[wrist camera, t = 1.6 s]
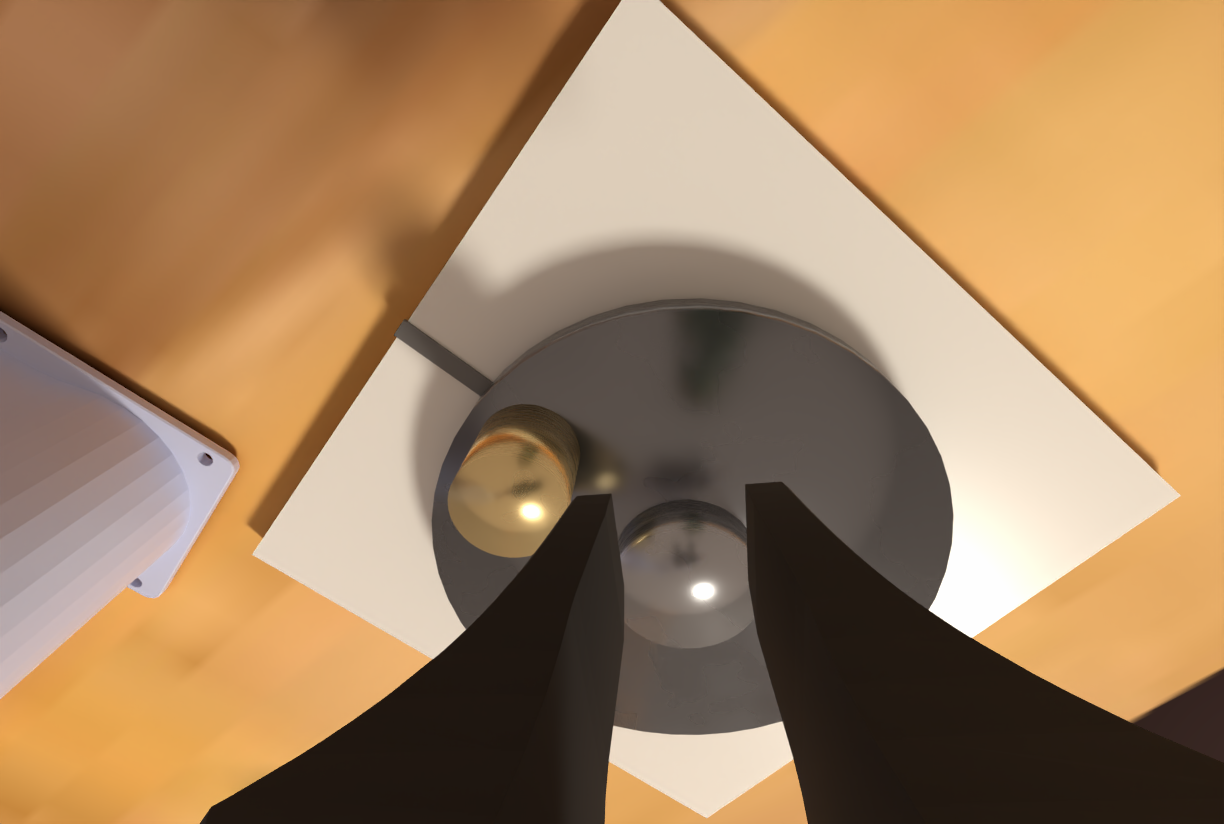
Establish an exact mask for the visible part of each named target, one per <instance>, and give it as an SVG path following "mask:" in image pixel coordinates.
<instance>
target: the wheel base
mask: <svg viewBox="0 0 1224 824" xmlns="http://www.w3.org/2000/svg"><path fill="white" fill-rule="evenodd" d="M695 298H704V299H714V300H725V301H736V302H742V303H747V304H751V305H755V306H760V307H764V308H769V309H773V310H777V311H779V312H782V313H785V314H787V315H790V316H793V317H796V318H798V319H801V320H804V321H806V322H809V323H811V324H813V325H815V326H817V327H819V328H820V329H822V330H824V331H826V332H828V333H830V334H832V335H833V336H835V337H837V338H839V339H841V340H842V341H844V342H845V343H846V344H848V345H849V346H850V347H852V348H853V349H855V350H856V351H857V352H859V353H860V354H861V355H863V356H864V357H865V358H867V359H868V360H869V361H870V362H871V363H872V364H873V365H874V366H875V367H876V368H877V369H878V370H879V371H880V372H881V373H882V374H883V375H884V376H885V377H886V378H887V379H888V380H889V381H890V382H891V383H892V384H893V385H894V386H895V387H896V388H897V389H898V390H899V391H900V393H901V394H902V395H903V396H904V397H905V398H906V399H907V400H908V401H909V403H910V404H911V406H912V407H913V408H914V410H915V411H916V413H917V414H918V415H919V417H920V418H921V419H922V421H923V422H924V424H925V425H926V426H927V428H928V430H929V432H930V434H931V436H932V438H933V440H934V442H935V444H936V446H937V448H938V450H939V452H940V454H941V456H942V460H943V463H944V466H945V470H946V473H947V477H948V480H949V483H950V488H951V497H952V506H953V514H954V517H953V536H952V547H951V551H950V556H949V560H948V565H947V569H946V573H945V575H944V578H943V581H942V583H941V586H940V588H939V591H938V593H937V596H936V598H935V600H934V602H933V604H932V605H931V607H930V609H929V610H930V611H931V612H933V613H934V614H936V615H937V616H938V617H940V618H941V619H943V620H944V621H946V622H947V623H949V624H950V625H952V626H953V627H955V628H956V629H958V630H959V631H961V632H963V633H964V634H966V635H968V636H969V637H971V638H972V637H974V636H975V635H977V634H978V633H980V632H981V631H983V630H984V629H986V628H987V627H988V626H990V625H991V624H993V623H994V622H996V621H997V620H999V619H1000V618H1002V617H1003V616H1005V615H1006V614H1008V613H1009V612H1011V611H1012V610H1013V609H1015V608H1016V607H1018V606H1019V605H1021V604H1022V603H1024V602H1025V601H1027V600H1028V599H1030V598H1031V597H1033V596H1034V595H1036V594H1037V593H1038V592H1040V591H1041V590H1043V589H1044V588H1046V587H1047V586H1049V585H1050V584H1052V583H1053V582H1055V581H1056V580H1058V579H1059V578H1060V577H1062V576H1063V575H1065V574H1066V573H1068V572H1069V571H1071V570H1072V569H1074V568H1075V567H1077V566H1078V565H1080V564H1081V563H1083V562H1084V561H1085V560H1087V559H1088V558H1090V557H1091V556H1093V555H1094V554H1096V553H1097V552H1099V551H1100V550H1102V549H1103V548H1105V547H1106V546H1108V545H1109V544H1110V543H1112V542H1113V541H1115V540H1116V539H1118V538H1119V537H1121V536H1122V535H1124V534H1125V533H1127V532H1128V531H1130V530H1131V529H1133V528H1134V527H1135V526H1137V525H1138V524H1140V523H1141V522H1143V521H1144V520H1146V519H1147V518H1149V517H1150V516H1152V515H1153V514H1155V513H1156V512H1157V511H1159V510H1160V509H1162V508H1163V507H1165V506H1166V505H1168V504H1169V503H1171V502H1172V501H1174V500H1175V499H1177V498H1178V497H1180V496H1181V495H1180V494H1179V493H1177V492H1176V491H1175V490H1174V489H1173V488H1172V487H1171V486H1170V485H1169V484H1168V483H1167V482H1166V481H1165V480H1164V479H1163V478H1162V477H1161V476H1160V475H1159V474H1157V473H1156V472H1155V471H1154V470H1153V469H1152V468H1151V467H1150V466H1149V465H1148V464H1147V463H1146V462H1145V461H1144V460H1143V459H1142V458H1141V457H1140V456H1139V455H1137V454H1136V453H1135V452H1134V451H1133V450H1132V449H1131V448H1130V447H1129V446H1128V445H1127V444H1126V443H1125V442H1124V441H1123V440H1122V439H1121V438H1120V437H1118V436H1117V435H1116V434H1115V433H1114V432H1113V431H1112V430H1111V429H1110V428H1109V427H1108V426H1107V425H1106V424H1105V423H1104V422H1103V421H1102V420H1101V419H1100V418H1098V417H1097V416H1096V415H1095V414H1094V413H1093V412H1092V411H1091V410H1090V409H1089V408H1088V407H1087V406H1086V405H1085V404H1084V403H1083V402H1082V401H1081V400H1080V399H1078V398H1077V397H1076V396H1075V395H1074V394H1073V393H1072V392H1071V391H1070V390H1069V389H1068V388H1067V387H1066V386H1065V385H1064V384H1063V383H1062V382H1061V381H1060V380H1058V379H1057V378H1056V377H1055V376H1054V375H1053V374H1052V373H1051V372H1050V371H1049V370H1048V369H1047V368H1046V367H1045V366H1044V365H1043V364H1042V363H1041V362H1040V361H1038V360H1037V359H1036V358H1035V357H1034V356H1033V355H1032V354H1031V353H1030V352H1029V351H1028V350H1027V349H1026V348H1025V347H1024V346H1023V345H1022V344H1021V343H1020V342H1018V341H1017V340H1016V339H1015V338H1014V337H1013V336H1012V335H1011V334H1010V333H1009V332H1008V331H1007V330H1006V329H1005V328H1004V327H1003V326H1002V325H1001V324H999V323H998V322H997V321H996V320H995V319H994V318H993V317H992V316H991V315H990V314H989V313H988V312H987V311H986V310H985V309H984V308H983V307H982V306H981V305H979V304H978V303H977V302H976V301H975V300H974V299H973V298H972V297H971V296H970V295H969V294H968V293H967V292H966V291H965V290H964V289H963V288H962V287H961V286H959V285H958V284H957V283H956V282H955V281H954V280H953V279H952V278H951V277H950V276H949V275H948V274H947V273H946V272H945V271H944V270H943V269H942V268H941V267H939V266H938V265H937V264H936V263H935V262H934V261H933V260H932V259H931V258H930V257H929V256H928V255H927V254H926V253H925V252H924V251H923V250H922V249H921V248H919V247H918V246H917V245H916V244H915V243H914V242H913V241H912V240H911V239H910V238H909V237H908V236H907V235H906V234H905V233H904V232H903V231H902V230H900V229H899V228H898V227H897V226H896V225H895V224H894V223H893V222H892V221H891V220H890V219H889V218H888V217H887V216H886V215H885V214H884V213H883V212H882V211H880V210H879V209H878V208H877V207H876V206H875V205H874V204H873V203H872V202H871V201H870V200H869V199H868V198H867V197H866V196H865V195H864V194H863V193H862V192H860V191H859V190H858V189H857V188H856V187H855V186H854V185H853V184H852V183H851V182H850V181H849V180H848V179H847V178H846V177H845V176H844V175H843V174H842V173H840V172H839V171H838V170H837V169H836V168H835V167H834V166H833V165H832V164H831V163H830V162H829V161H828V160H827V159H826V158H825V157H824V156H823V155H822V154H820V153H819V152H818V151H817V150H816V149H815V148H814V147H813V146H812V145H811V144H810V143H809V142H808V141H807V140H806V139H805V138H804V137H803V136H802V135H800V134H799V133H798V132H797V131H796V130H795V129H794V128H793V127H792V126H791V125H790V124H789V123H788V122H787V121H786V120H785V119H784V118H783V117H781V116H780V115H779V114H778V113H777V112H776V111H775V110H774V109H773V108H772V107H771V106H770V105H769V104H768V103H767V102H766V101H765V100H764V99H763V98H761V97H760V96H759V95H758V94H757V93H756V92H755V91H754V90H753V89H752V88H751V87H750V86H749V85H748V84H747V83H746V82H745V81H744V80H743V79H741V78H740V77H739V76H738V75H737V74H736V73H735V72H734V71H733V70H732V69H731V68H730V67H729V66H728V65H727V64H726V63H725V62H724V61H723V60H721V59H720V58H719V57H718V56H717V55H716V54H715V53H714V52H713V51H712V50H711V49H710V48H709V47H708V46H707V45H706V44H705V43H704V42H703V41H701V40H700V39H699V38H698V37H697V36H696V35H695V34H694V33H693V32H692V31H691V30H690V29H689V28H688V27H687V26H686V25H685V24H684V23H682V22H681V21H680V20H679V19H678V18H677V17H676V16H675V15H674V14H673V13H672V12H671V11H670V10H669V9H668V8H667V7H666V6H665V5H664V4H662V3H661V2H660V1H659V0H621V2H620V3H619V5H618V6H617V8H616V9H615V11H614V12H613V14H612V15H611V17H610V18H609V20H608V21H607V23H606V24H605V26H604V27H603V29H602V30H601V32H600V33H599V35H598V36H597V38H596V39H595V41H594V42H593V44H592V45H591V47H590V48H589V50H588V51H587V53H586V54H585V56H584V57H583V59H582V60H581V62H580V63H579V65H578V66H577V68H576V69H575V71H574V72H573V74H572V75H571V77H570V78H569V80H568V81H567V83H566V84H565V86H564V87H563V89H562V90H561V92H560V93H559V95H558V96H557V98H556V99H555V101H554V102H553V104H552V105H551V107H550V108H549V110H548V111H547V113H546V114H545V116H544V117H543V119H542V120H541V122H540V123H539V125H538V126H537V128H536V129H535V131H534V133H533V134H532V136H531V137H530V139H529V140H528V142H527V143H526V145H525V146H524V148H523V149H522V151H521V152H520V154H519V155H518V157H517V158H516V160H515V161H514V163H513V164H512V166H511V167H510V169H509V170H508V172H507V173H506V175H505V176H504V178H503V179H502V181H501V182H500V184H499V185H498V187H497V188H496V190H495V191H494V193H493V194H492V196H491V197H490V199H489V200H488V202H487V203H486V205H485V206H484V208H483V209H482V211H481V212H480V214H479V215H478V217H477V218H476V220H475V221H474V223H473V224H472V226H471V227H470V229H469V230H468V232H467V233H466V235H465V236H464V238H463V239H462V241H461V242H460V244H459V245H458V247H457V248H456V250H455V251H454V253H453V254H452V256H451V257H450V259H449V260H448V262H447V263H446V265H445V266H444V268H443V269H442V271H441V272H440V274H439V275H438V277H437V278H436V280H435V281H434V283H433V284H432V286H431V287H430V289H429V290H428V292H427V293H426V295H425V296H424V298H423V299H422V301H421V302H420V304H419V305H418V307H417V308H416V310H415V311H414V313H413V314H412V316H411V317H410V319H409V320H408V321H407V320H405V319H404V320H403V322H402V323H401V325H400V326H399V328H398V329H397V331H396V332H395V334H394V336H396V337H397V338H396V340H395V341H394V343H393V344H392V346H391V347H390V349H389V350H388V352H387V353H386V355H385V356H384V358H383V359H382V361H381V362H380V364H379V365H378V367H377V368H376V370H375V371H374V373H373V374H372V376H371V377H370V379H369V380H368V382H367V383H366V385H365V386H364V388H363V389H362V391H361V392H360V394H359V395H358V397H357V398H356V400H355V401H354V403H353V404H352V406H351V407H350V409H349V410H348V412H347V413H346V415H345V416H344V418H343V419H342V421H341V422H340V424H339V425H338V427H337V428H336V430H335V431H334V433H333V434H332V436H331V437H330V439H329V440H328V442H327V443H326V445H325V446H324V448H323V449H322V451H321V452H320V454H319V455H318V457H317V458H316V460H315V461H314V463H313V464H312V466H311V467H310V469H309V470H308V472H307V473H306V475H305V476H304V478H303V479H302V481H301V482H300V484H299V485H298V487H297V488H296V490H295V491H294V493H293V494H292V496H291V497H290V499H289V500H288V502H287V503H286V505H285V506H284V508H283V509H282V511H281V512H280V514H279V515H278V517H277V518H276V520H275V521H274V523H273V524H272V526H271V527H270V529H269V530H268V532H267V533H266V535H265V536H264V538H263V539H262V541H261V542H260V544H259V545H258V547H257V548H256V550H255V551H254V553H253V554H252V555H254V556H255V557H257V558H259V559H261V560H262V561H264V562H266V563H267V564H269V565H271V566H273V567H274V568H276V569H278V570H279V571H281V572H283V573H285V574H286V575H288V576H290V577H292V578H293V579H295V580H297V581H298V582H300V583H302V584H304V585H305V586H307V587H309V588H311V589H312V590H314V591H316V592H317V593H319V594H321V595H323V596H324V597H326V598H328V599H330V600H331V601H333V602H335V603H336V604H338V605H340V606H342V607H343V608H345V609H347V610H348V611H350V612H352V613H354V614H355V615H357V616H359V617H361V618H362V619H364V620H366V621H367V622H369V623H371V624H373V625H374V626H376V627H378V628H380V629H381V630H383V631H385V632H386V633H388V634H390V635H392V636H393V637H395V638H397V639H399V640H400V641H402V642H404V643H405V644H407V645H409V646H411V647H412V648H414V649H416V650H417V651H419V652H421V653H423V654H424V655H426V656H428V657H430V658H431V659H434V658H435V657H436V656H437V655H439V654H440V653H441V652H442V651H443V650H444V649H446V648H447V647H448V646H449V645H450V644H451V643H452V642H453V641H454V640H455V639H457V638H458V637H459V636H460V635H461V634H462V633H463V632H464V631H465V630H466V629H465V627H464V626H463V625H462V623H461V622H460V620H459V618H458V616H457V615H456V613H455V611H454V609H453V607H452V605H451V604H450V602H449V600H448V598H447V595H446V593H445V590H444V587H443V584H442V582H441V579H440V576H439V574H438V569H437V564H436V560H435V555H434V550H433V539H432V511H433V502H434V493H435V489H436V485H437V481H438V478H439V474H440V470H441V467H442V464H443V462H444V459H445V457H446V455H447V453H448V451H449V448H450V446H451V444H452V442H453V440H454V437H455V436H456V434H457V432H458V431H459V429H460V428H461V426H462V424H463V423H464V421H465V420H466V418H467V417H468V415H469V413H470V412H471V410H472V409H473V407H474V406H475V404H476V403H477V401H478V400H479V398H480V397H481V395H482V394H483V393H484V392H485V390H486V389H487V388H488V387H489V386H490V385H491V384H492V383H493V382H494V380H495V379H496V378H497V377H498V376H499V375H500V374H501V373H502V371H503V370H505V369H506V368H507V367H508V366H509V365H511V364H512V363H513V362H514V361H515V360H517V359H518V358H519V357H520V356H521V355H523V354H524V353H525V352H526V351H527V350H528V349H530V348H532V347H533V346H535V345H536V344H538V343H540V342H541V341H543V340H544V339H546V338H548V337H549V336H551V335H553V334H554V333H556V332H557V331H559V330H562V329H564V328H566V327H568V326H570V325H573V324H575V323H577V322H579V321H582V320H584V319H586V318H588V317H590V316H594V315H597V314H600V313H604V312H607V311H610V310H614V309H617V308H620V307H624V306H628V305H634V304H640V303H646V302H652V301H658V300H667V299H695ZM792 760H793V756H792V752H791V749H790V745H789V742H788V739H787V735H786V732H785V728H784V725H783V721H782V722H778V723H774V724H770V725H766V726H763V727H759V728H754V729H748V730H742V731H736V732H730V733H719V734H706V735H670V734H661V733H651V732H642V731H637V730H632V729H627V728H622V727H617V726H613V732H612V740H611V747H610V755H609V762H611V763H612V764H614V765H616V766H618V767H619V768H621V769H623V770H624V771H626V772H628V773H630V774H631V775H633V776H635V777H637V778H638V779H640V780H642V781H643V782H645V783H647V784H649V785H650V786H652V787H654V788H656V789H657V790H659V791H661V792H662V793H664V794H666V795H668V796H669V797H671V798H673V799H674V800H676V801H678V802H680V803H681V804H683V805H685V806H687V807H688V808H690V809H692V810H693V811H695V812H697V813H699V814H700V815H702V816H704V817H706V818H708V817H709V816H711V815H712V814H714V813H715V812H717V811H718V810H719V809H721V808H722V807H724V806H725V805H727V804H728V803H730V802H731V801H733V800H734V799H736V798H737V797H739V796H740V795H742V794H743V793H744V792H746V791H747V790H749V789H750V788H752V787H753V786H755V785H756V784H758V783H759V782H761V781H762V780H764V779H765V778H767V777H768V776H769V775H771V774H772V773H774V772H775V771H777V770H778V769H780V768H781V767H783V766H784V765H786V764H787V763H789V762H790V761H792Z"/></svg>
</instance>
